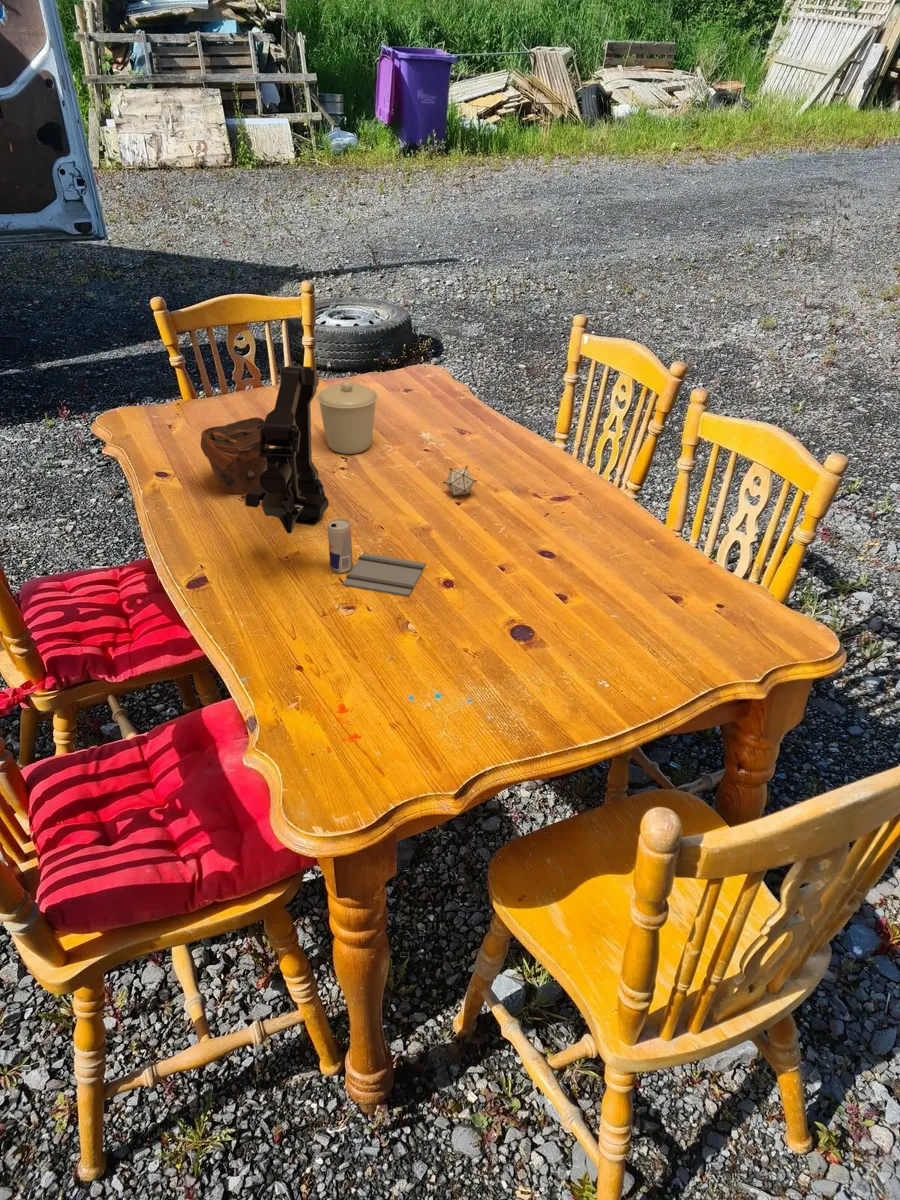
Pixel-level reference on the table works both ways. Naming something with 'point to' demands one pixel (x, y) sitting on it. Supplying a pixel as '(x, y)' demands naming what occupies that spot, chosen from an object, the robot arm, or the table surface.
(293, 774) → the table surface
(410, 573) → the mat
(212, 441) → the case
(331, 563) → the energy drink
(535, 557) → the table surface
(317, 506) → the robot arm
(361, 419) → the canister
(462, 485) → the game die
